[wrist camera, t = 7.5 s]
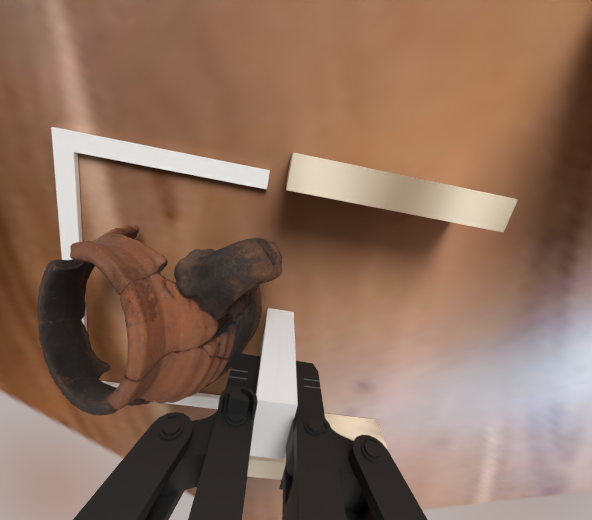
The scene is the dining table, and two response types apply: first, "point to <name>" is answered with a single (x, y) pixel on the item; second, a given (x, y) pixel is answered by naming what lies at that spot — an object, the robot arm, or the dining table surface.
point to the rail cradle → (396, 197)
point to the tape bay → (77, 142)
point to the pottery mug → (153, 317)
